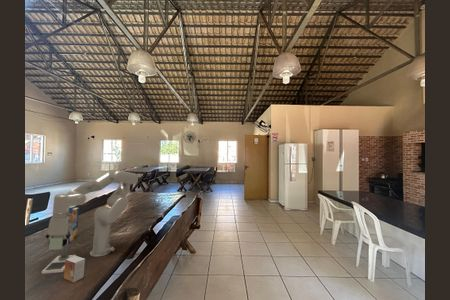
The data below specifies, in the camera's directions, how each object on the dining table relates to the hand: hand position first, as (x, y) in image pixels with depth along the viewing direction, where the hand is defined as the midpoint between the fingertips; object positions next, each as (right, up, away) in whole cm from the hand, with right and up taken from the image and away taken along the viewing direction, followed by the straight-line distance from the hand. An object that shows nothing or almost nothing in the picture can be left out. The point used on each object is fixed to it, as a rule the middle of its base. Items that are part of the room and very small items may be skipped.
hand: (57, 245), depth 123 cm
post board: (-2, -14, +4) cm, 14 cm away
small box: (+15, -14, -8) cm, 23 cm away
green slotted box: (0, -1, 0) cm, 1 cm away
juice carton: (-23, -14, +37) cm, 46 cm away
